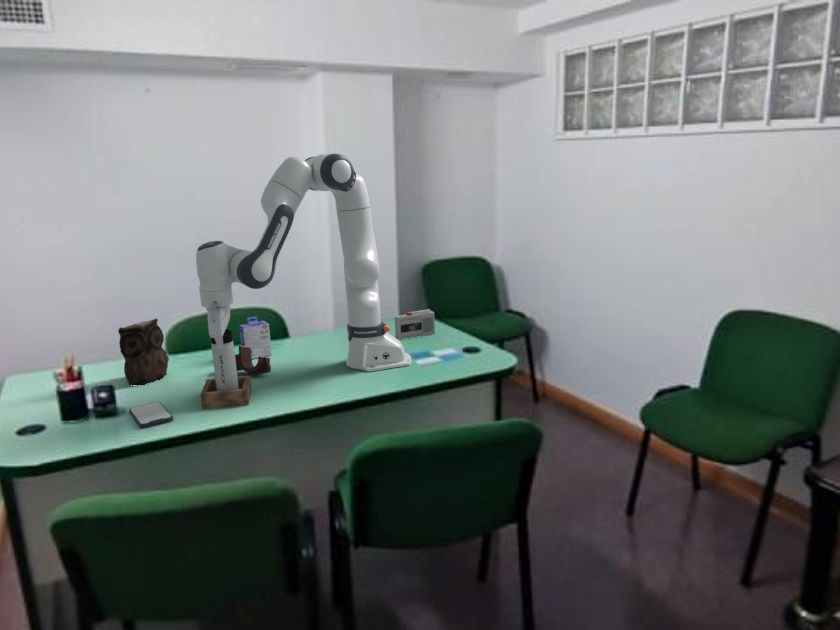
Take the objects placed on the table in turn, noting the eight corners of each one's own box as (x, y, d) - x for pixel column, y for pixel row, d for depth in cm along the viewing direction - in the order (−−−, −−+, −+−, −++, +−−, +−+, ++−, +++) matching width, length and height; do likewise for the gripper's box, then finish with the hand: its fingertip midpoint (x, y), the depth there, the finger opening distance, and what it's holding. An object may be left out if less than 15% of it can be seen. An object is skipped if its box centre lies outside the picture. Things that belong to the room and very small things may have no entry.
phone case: (128, 413, 183) (140, 430, 170) (127, 408, 183) (139, 425, 170) (160, 405, 188) (174, 422, 175) (159, 400, 187) (173, 416, 175)
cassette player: (398, 340, 244) (397, 315, 242) (395, 338, 247) (394, 313, 244) (434, 334, 251) (434, 309, 248) (431, 332, 253) (431, 308, 250)
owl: (172, 373, 214) (164, 316, 209) (158, 386, 202) (150, 326, 197) (134, 375, 214) (125, 317, 209) (118, 388, 202) (108, 327, 197)
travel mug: (229, 389, 194) (222, 326, 189) (243, 393, 190) (236, 329, 185) (212, 395, 189) (204, 331, 184) (226, 400, 185) (218, 334, 180)
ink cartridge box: (267, 351, 235) (263, 314, 231) (272, 355, 230) (269, 316, 227) (241, 357, 229) (237, 318, 226) (246, 360, 225) (242, 321, 221)
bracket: (265, 371, 205) (262, 341, 207) (219, 379, 209) (217, 349, 211) (274, 372, 211) (272, 342, 212) (230, 380, 215) (227, 351, 217)
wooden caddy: (252, 385, 200) (248, 349, 197) (248, 404, 185) (244, 365, 182) (209, 389, 198) (205, 353, 195) (202, 409, 182) (197, 369, 180)
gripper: (223, 305, 173) (229, 353, 176) (231, 290, 192) (236, 334, 196) (199, 307, 172) (206, 355, 175) (210, 292, 191) (215, 336, 195)
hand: (222, 344), depth 186 cm, fingers closed on travel mug, 6 cm apart
